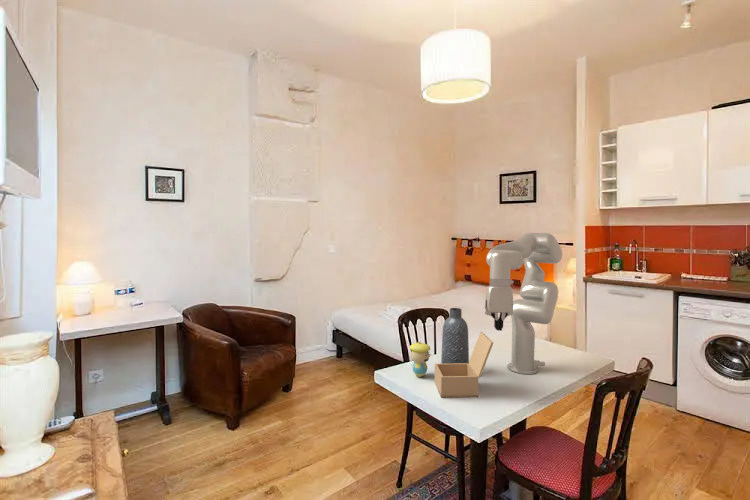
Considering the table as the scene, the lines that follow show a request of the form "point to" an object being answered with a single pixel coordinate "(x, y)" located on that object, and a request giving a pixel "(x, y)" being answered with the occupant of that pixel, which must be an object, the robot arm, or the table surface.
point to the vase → (455, 339)
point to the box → (456, 380)
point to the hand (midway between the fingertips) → (498, 329)
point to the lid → (480, 353)
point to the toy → (420, 358)
